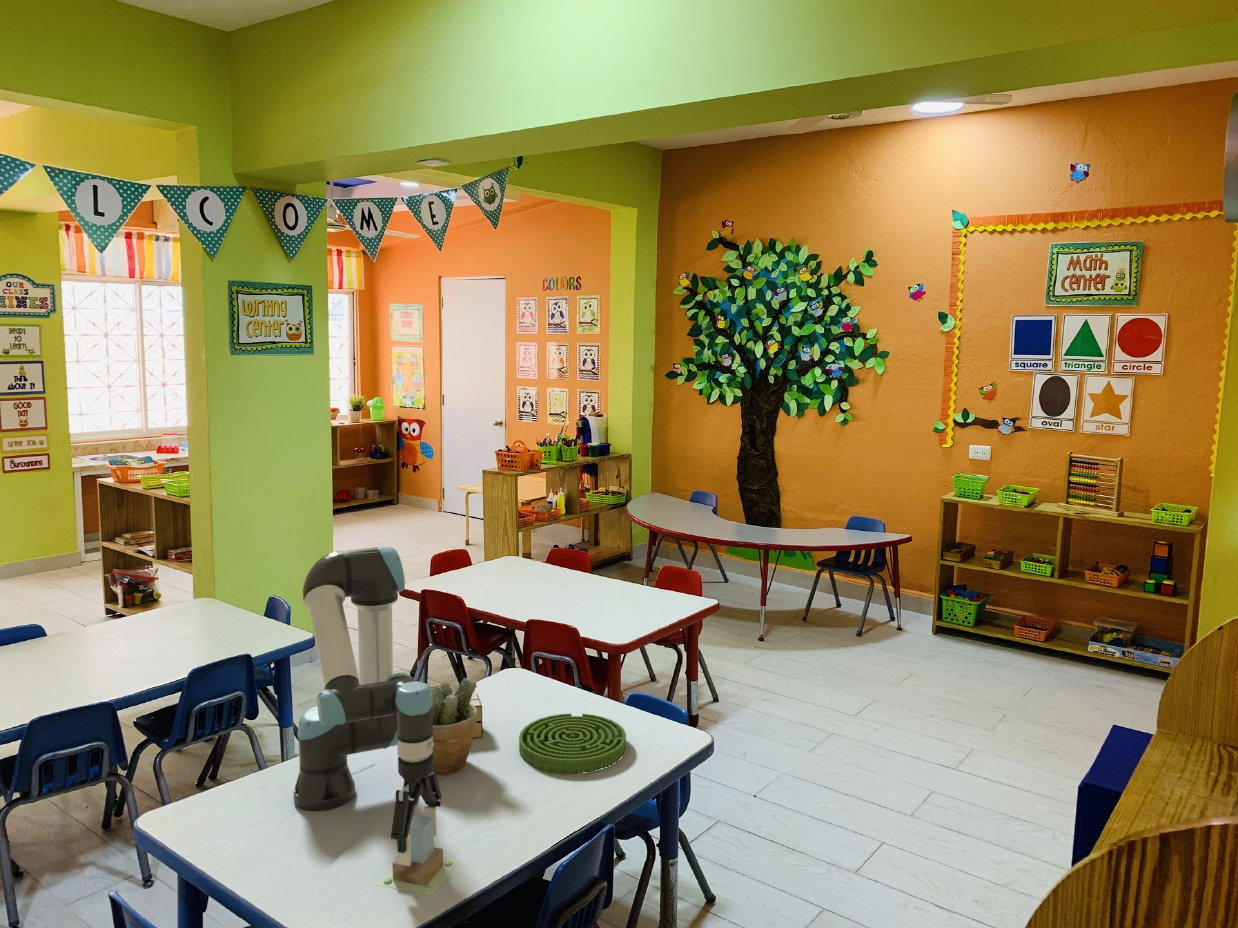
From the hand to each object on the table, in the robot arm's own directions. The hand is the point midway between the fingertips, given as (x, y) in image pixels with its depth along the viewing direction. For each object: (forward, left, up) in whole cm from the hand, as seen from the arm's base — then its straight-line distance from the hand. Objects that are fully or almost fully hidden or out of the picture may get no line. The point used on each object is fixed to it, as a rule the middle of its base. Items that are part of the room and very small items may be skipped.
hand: (417, 848), depth 196 cm
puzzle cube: (-22, +70, -7) cm, 74 cm away
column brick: (0, 0, -2) cm, 2 cm away
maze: (+13, +69, -7) cm, 71 cm away
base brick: (0, 0, -6) cm, 6 cm away
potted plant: (-18, +49, -7) cm, 53 cm away
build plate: (0, 0, -7) cm, 7 cm away
